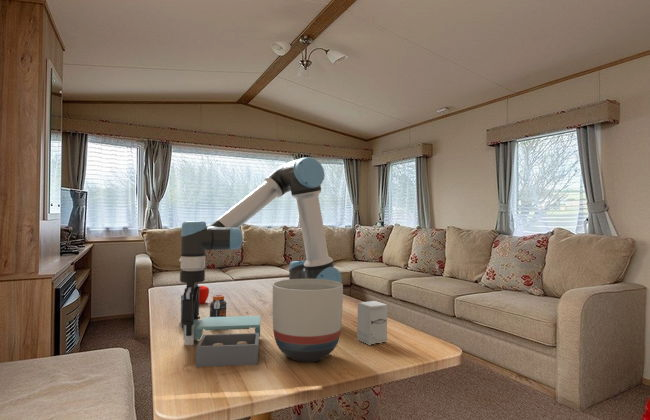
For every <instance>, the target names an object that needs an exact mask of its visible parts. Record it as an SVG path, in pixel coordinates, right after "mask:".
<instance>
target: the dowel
mask: <svg viewBox="0 0 650 420" xmlns="http://www.w3.org/2000/svg"><path fill="white" fill-rule="evenodd" d="M243 344H247V342H246V341H240V342H237V345H243Z"/></svg>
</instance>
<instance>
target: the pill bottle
mask: <svg viewBox="0 0 650 420" xmlns="http://www.w3.org/2000/svg"><path fill="white" fill-rule="evenodd" d="M209 317H227V302H226V301H225V295H223V294H215V295H214V294H213V296H212V301H210V303H209Z"/></svg>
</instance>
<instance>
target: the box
mask: <svg viewBox="0 0 650 420" xmlns="http://www.w3.org/2000/svg"><path fill="white" fill-rule="evenodd" d="M183 318H184V295H180V325H181V328H182V329H184V325H182V323H183ZM196 320H199V319H196Z"/></svg>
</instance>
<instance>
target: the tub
mask: <svg viewBox="0 0 650 420" xmlns="http://www.w3.org/2000/svg"><path fill="white" fill-rule="evenodd" d="M259 339H260V337H259V333H255V332H251V333H250V332H249V333H248V332H247V333H245V332H244V333H217V334H216V333H215V334H214V333H213V334H203V335H202V337H201V338H200V339H199V342H198V343H197V345H196V346H195V347H196V348H195V368H204V367H205V368H207V367H208V368H209V367H210V368H211V367H229V366H233V367H234V366H256V365H258V360H259V350H260V349H259V348H260V347H259V346H260V343H259V342H260V340H259ZM240 341H246V342H247V344H243V345H237V342H240ZM215 343H222V344H223V345H214V346H213V344H215Z"/></svg>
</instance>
